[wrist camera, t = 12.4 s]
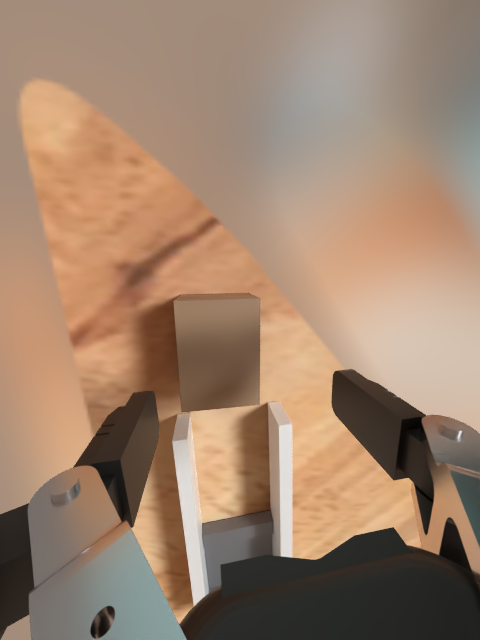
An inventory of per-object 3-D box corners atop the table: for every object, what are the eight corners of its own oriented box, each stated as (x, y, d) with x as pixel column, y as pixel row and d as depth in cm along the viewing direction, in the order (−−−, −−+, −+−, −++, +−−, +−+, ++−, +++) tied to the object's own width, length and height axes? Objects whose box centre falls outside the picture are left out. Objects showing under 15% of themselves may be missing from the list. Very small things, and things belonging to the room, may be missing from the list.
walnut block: (248, 377, 19) (259, 404, 15) (186, 382, 18) (181, 412, 14) (248, 292, 17) (260, 298, 13) (180, 294, 17) (173, 300, 13)
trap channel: (281, 574, 24) (292, 616, 21) (199, 594, 22) (198, 641, 20) (279, 401, 19) (292, 423, 16) (177, 414, 18) (172, 441, 15)
